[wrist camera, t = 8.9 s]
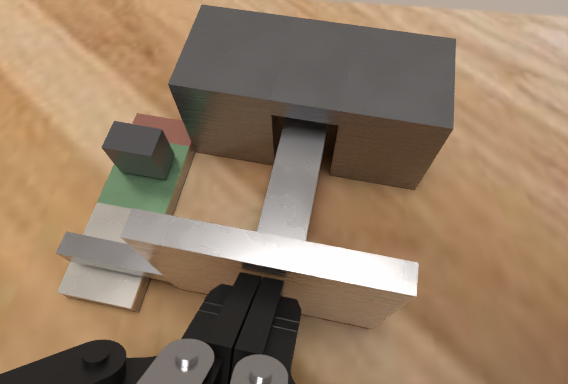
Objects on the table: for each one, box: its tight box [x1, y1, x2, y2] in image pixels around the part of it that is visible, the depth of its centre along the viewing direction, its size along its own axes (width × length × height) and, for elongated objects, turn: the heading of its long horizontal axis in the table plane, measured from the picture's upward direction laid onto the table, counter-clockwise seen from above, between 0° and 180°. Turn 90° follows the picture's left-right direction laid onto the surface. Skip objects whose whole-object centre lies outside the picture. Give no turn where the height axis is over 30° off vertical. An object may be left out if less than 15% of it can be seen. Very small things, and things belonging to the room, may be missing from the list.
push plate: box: [56, 117, 419, 329], centre depth 18 cm, size 14×11×7 cm
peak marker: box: [102, 121, 175, 180], centre depth 20 cm, size 2×2×2 cm, turn 78°
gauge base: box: [57, 5, 456, 312], centre depth 19 cm, size 16×14×6 cm
